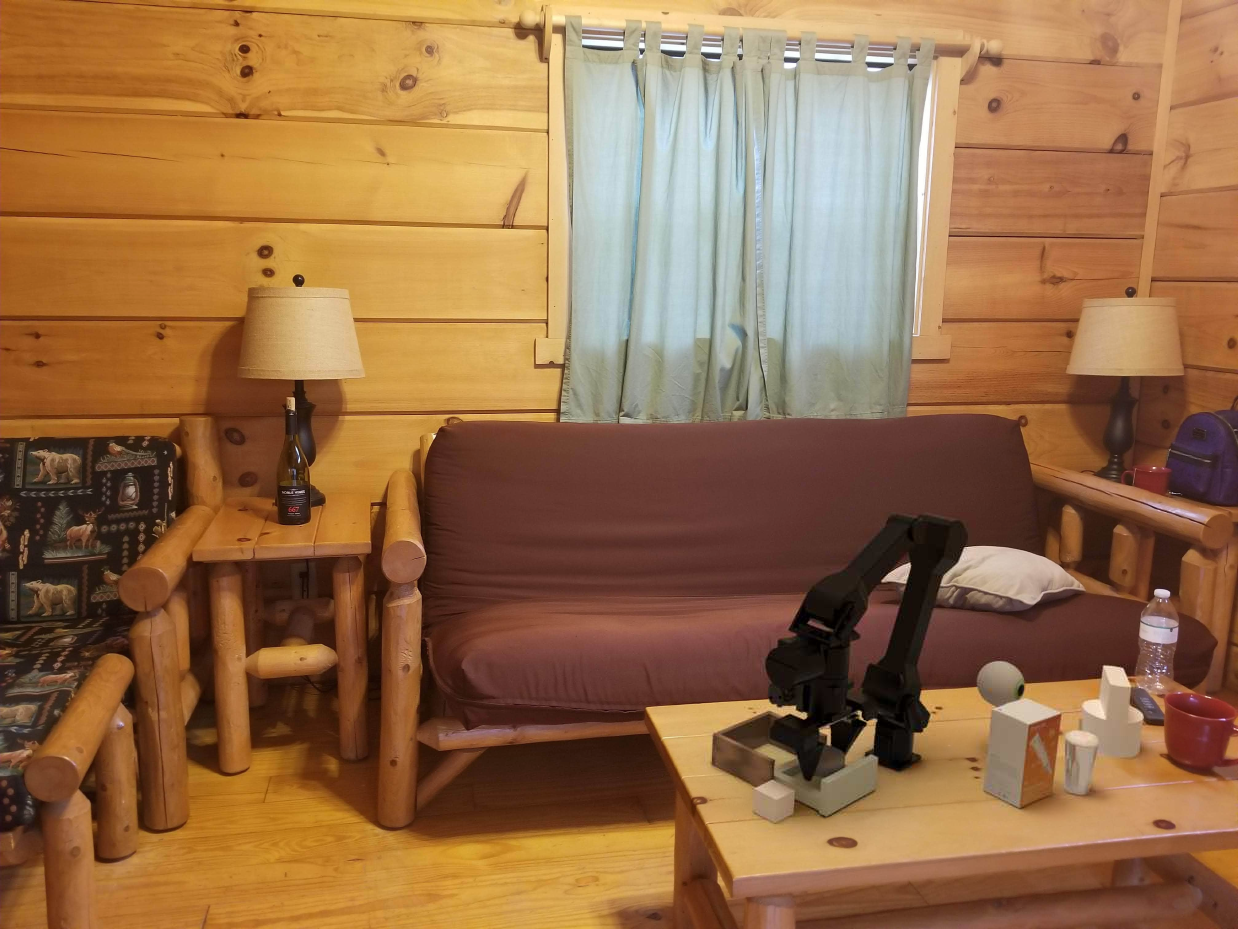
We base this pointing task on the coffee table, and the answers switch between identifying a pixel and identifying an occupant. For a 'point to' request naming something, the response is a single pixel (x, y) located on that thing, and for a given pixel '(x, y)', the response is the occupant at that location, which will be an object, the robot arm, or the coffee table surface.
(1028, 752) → the small box
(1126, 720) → the base with upright slab
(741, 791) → the coffee table surface
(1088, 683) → the coffee table surface
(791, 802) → the block
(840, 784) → the tray
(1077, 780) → the milkshake
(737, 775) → the holder
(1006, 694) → the eyeball
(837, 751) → the cylinder
